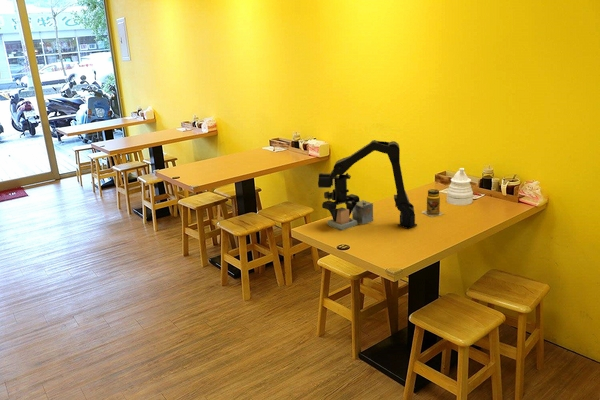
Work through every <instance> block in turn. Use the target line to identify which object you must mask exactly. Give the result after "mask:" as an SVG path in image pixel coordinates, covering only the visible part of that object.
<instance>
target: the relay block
mask: <svg viewBox="0 0 600 400" xmlns="http://www.w3.org/2000/svg"><path fill="white" fill-rule="evenodd" d="M337 209H338V211H337V219H336V221H335V223H338V224H340V225H342V224H345V223H348V222H349V218H350V216H349V209H346V207H343V206H342V207H338V208H337Z"/></svg>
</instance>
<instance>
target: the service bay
mask: <svg viewBox="0 0 600 400" xmlns="http://www.w3.org/2000/svg"><path fill="white" fill-rule="evenodd" d="M327 226H329V227H331V228H334V229H336V230H339V231H343V230H347V229H350V228H352V227H355V226H358V223H357V221H356V220H354V219H352V218H351V217H349V222H348V223H345V224H342V225H340V224H338V223H335V221H334V220H333V218H331V219H328V220H327Z"/></svg>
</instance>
